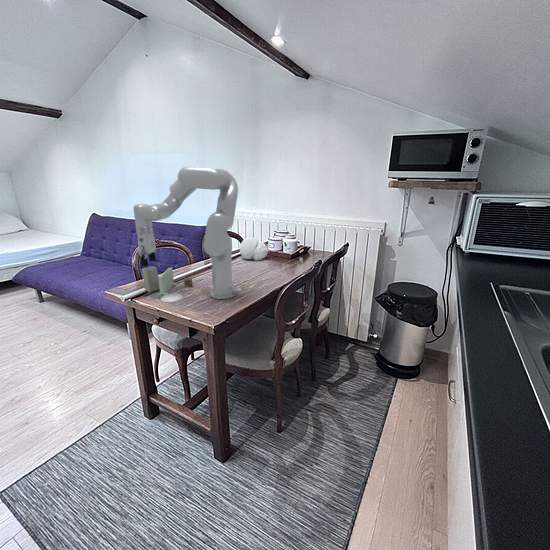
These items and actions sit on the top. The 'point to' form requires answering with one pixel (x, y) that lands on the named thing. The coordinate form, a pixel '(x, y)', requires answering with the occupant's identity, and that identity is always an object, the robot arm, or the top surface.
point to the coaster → (171, 298)
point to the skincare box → (151, 278)
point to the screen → (166, 282)
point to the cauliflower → (253, 249)
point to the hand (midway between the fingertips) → (148, 263)
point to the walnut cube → (188, 282)
